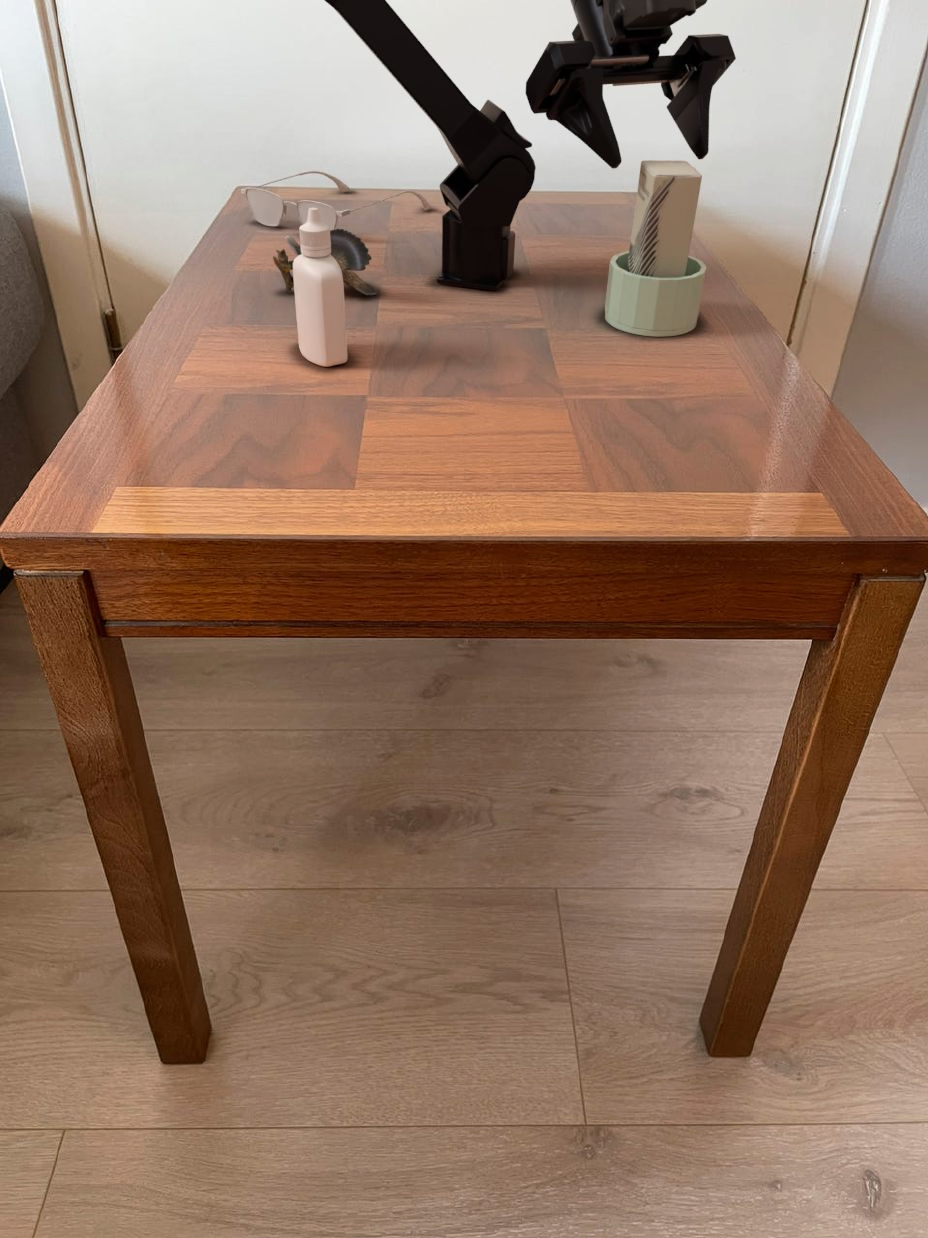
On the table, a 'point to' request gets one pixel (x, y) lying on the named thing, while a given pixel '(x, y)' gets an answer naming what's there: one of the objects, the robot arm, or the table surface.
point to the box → (663, 218)
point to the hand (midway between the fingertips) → (661, 160)
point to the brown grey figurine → (343, 250)
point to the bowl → (653, 299)
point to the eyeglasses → (301, 204)
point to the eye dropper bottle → (319, 296)
